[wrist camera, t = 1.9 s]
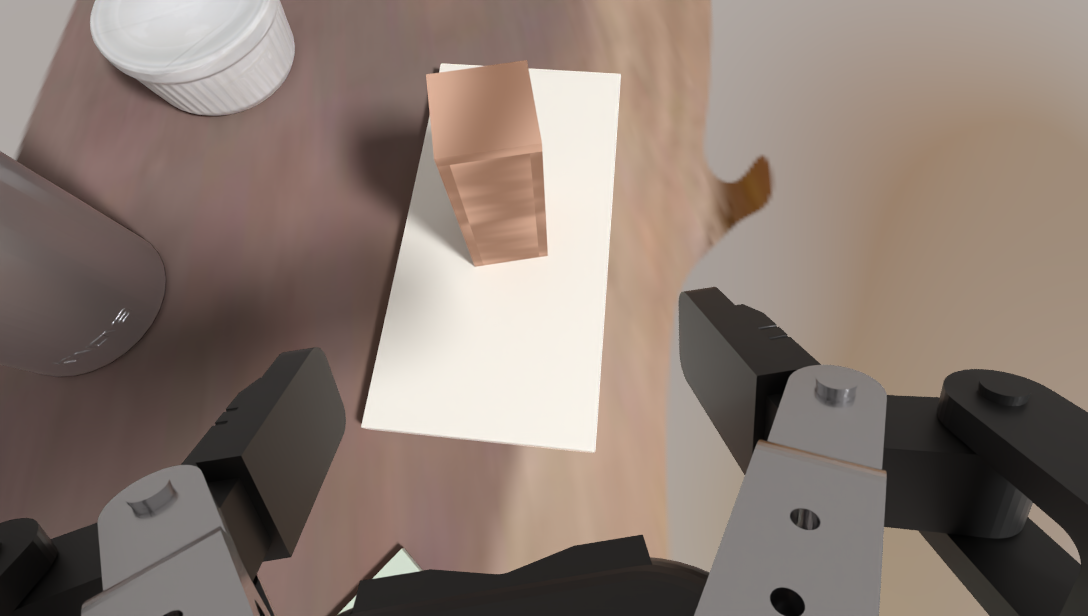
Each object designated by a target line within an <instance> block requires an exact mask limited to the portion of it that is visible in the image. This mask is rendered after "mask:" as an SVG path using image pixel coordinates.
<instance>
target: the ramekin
mask: <svg viewBox="0 0 1088 616" xmlns="http://www.w3.org/2000/svg"><path fill="white" fill-rule="evenodd" d="M90 29H91V33H92V38H93V40H94V43H95V44H96V46H97V47H98V49H99V50H100V52H101V53H102V54H103V55H104V56H105V57H106V58H107V59H108V60H109V61H110V62H111V63H112V64H113V65H114V66H115V67H116V68H117V69H119V70H120V71H122V72H123V73H125V74H127V75H129V76H131V77H133V78H136V79H137V80H138V81H140V82H141V83H142V84H144V85H145V86H146V87H148V88H149V89H150V90H152V91H153V92H154V93H156V94H157V95H159V96H160V97H161V98H163V99H164V100H166V101H167V102H168V103H170V104H171V105H173V106H175V107H177V108H179V109H181V110H183V111H187V112H189V113H194V114H198V115H210V116H220V115H230V114H235V113H239V112H242V111H245V110H247V109H250V108H252V107H254V106H256V105H258V104H260V103H261V102H263V101H264V100H266V99H267V98H269V97H270V96H271V95H272V94H273V93H274V92H275V91H276V90H277V89H278V88H279V87H280V86H281V85H282V84H283V82H284V81H285V79H286V78H287V76H288V74H289V72H290V69H291V66H292V63H293V58H294V55H295V51H294V50H295V44H294V37H293V34H292V32H291V29H290V26H289V24H288V21H287V19H286V16H285V13H284V10H283V8H282V5H281V2H280V0H95V3H94V5H93V8H92V12H91V18H90Z"/></svg>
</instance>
